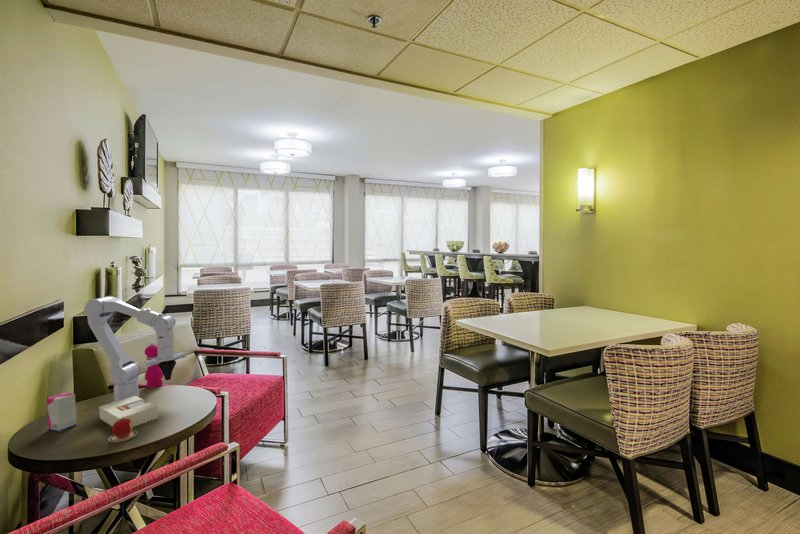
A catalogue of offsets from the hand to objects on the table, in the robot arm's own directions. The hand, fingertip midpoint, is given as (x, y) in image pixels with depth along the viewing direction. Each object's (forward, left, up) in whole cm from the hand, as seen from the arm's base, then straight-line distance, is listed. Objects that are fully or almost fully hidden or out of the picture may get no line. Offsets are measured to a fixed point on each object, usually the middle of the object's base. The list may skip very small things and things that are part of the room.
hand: (167, 379), depth 160 cm
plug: (+3, -13, -10) cm, 16 cm away
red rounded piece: (+17, -23, -10) cm, 30 cm away
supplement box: (-9, -31, -10) cm, 34 cm away
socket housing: (+3, -15, -9) cm, 18 cm away
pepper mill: (-25, +6, -10) cm, 27 cm away
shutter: (+3, -17, -9) cm, 19 cm away
